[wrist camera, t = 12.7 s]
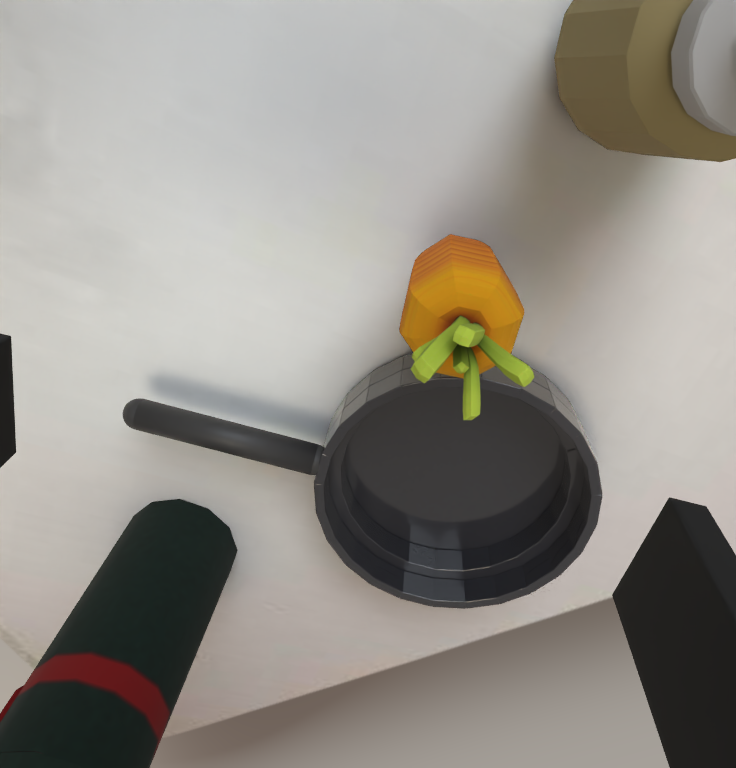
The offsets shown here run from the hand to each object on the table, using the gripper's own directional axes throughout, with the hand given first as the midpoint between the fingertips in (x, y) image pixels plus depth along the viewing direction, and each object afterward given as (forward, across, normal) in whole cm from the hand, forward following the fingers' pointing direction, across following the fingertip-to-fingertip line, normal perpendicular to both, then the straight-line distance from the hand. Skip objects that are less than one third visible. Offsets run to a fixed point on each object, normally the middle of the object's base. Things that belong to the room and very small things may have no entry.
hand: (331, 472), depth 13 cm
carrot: (+24, +4, -1) cm, 24 cm away
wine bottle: (+23, -10, -27) cm, 37 cm away
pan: (+23, +8, -14) cm, 28 cm away
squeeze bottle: (+24, +9, +10) cm, 27 cm away
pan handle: (+21, -6, -14) cm, 26 cm away
